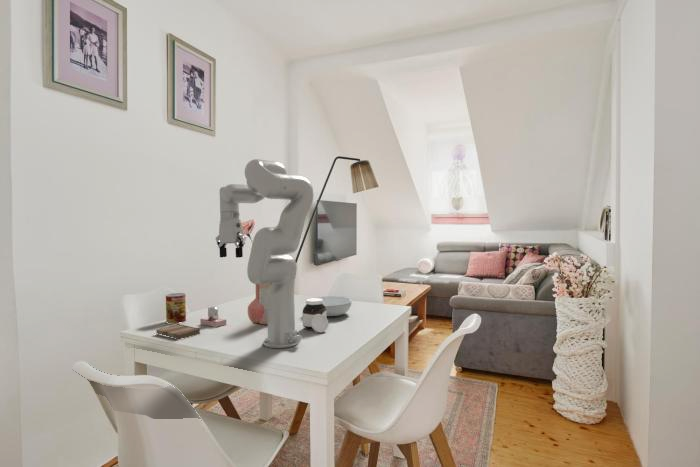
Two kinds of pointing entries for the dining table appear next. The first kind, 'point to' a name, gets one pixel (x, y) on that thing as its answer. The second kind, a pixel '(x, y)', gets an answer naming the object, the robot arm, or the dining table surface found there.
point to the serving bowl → (336, 304)
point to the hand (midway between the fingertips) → (231, 257)
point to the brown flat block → (178, 331)
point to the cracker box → (264, 301)
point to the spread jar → (315, 315)
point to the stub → (213, 318)
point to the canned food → (175, 308)
